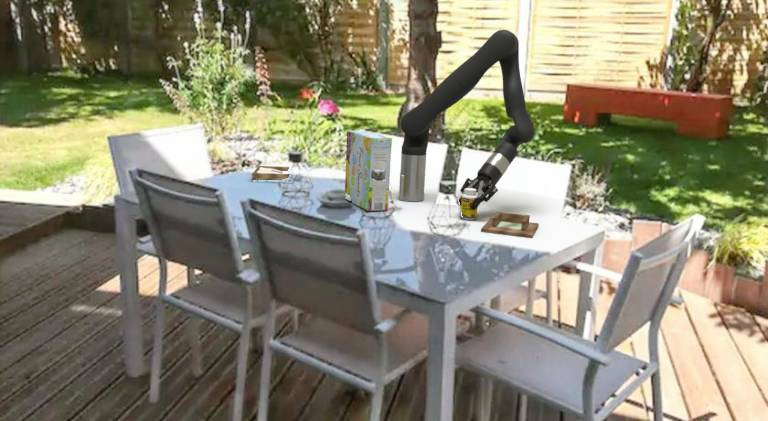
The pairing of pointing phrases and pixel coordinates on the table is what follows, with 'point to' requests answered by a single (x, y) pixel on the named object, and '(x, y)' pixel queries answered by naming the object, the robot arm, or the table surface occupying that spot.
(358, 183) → the snack box
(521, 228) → the brown wooden square frame
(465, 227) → the table surface
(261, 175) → the tray
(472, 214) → the supplement bottle
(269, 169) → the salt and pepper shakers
